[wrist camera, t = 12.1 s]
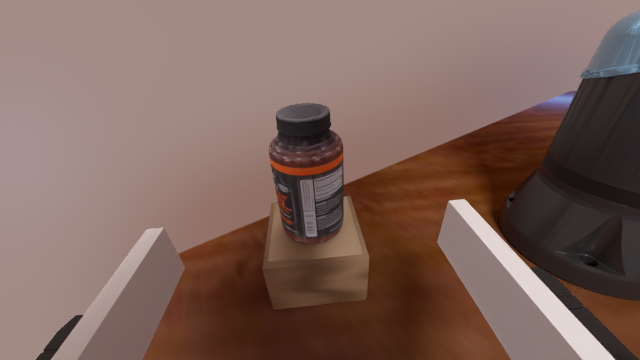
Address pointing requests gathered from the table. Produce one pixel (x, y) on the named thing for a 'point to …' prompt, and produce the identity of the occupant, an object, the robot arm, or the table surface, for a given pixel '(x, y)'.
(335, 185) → the supplement bottle
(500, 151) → the table surface
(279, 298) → the light wooden box
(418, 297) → the table surface
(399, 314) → the table surface
